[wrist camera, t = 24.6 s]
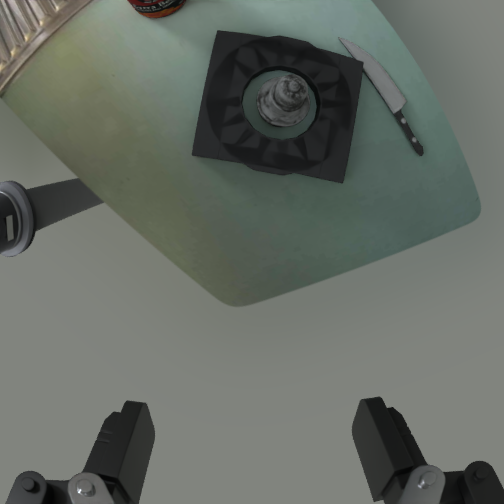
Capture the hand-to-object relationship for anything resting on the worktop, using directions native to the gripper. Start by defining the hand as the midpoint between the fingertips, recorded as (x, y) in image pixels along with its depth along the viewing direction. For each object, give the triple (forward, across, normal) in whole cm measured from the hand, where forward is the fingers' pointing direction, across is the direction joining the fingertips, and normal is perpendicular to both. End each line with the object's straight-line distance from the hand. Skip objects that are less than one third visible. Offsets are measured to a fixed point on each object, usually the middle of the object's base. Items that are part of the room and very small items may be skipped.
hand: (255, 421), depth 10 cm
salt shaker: (+30, +4, +15) cm, 34 cm away
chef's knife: (+30, +18, +19) cm, 40 cm away
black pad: (+30, +4, +16) cm, 34 cm away
